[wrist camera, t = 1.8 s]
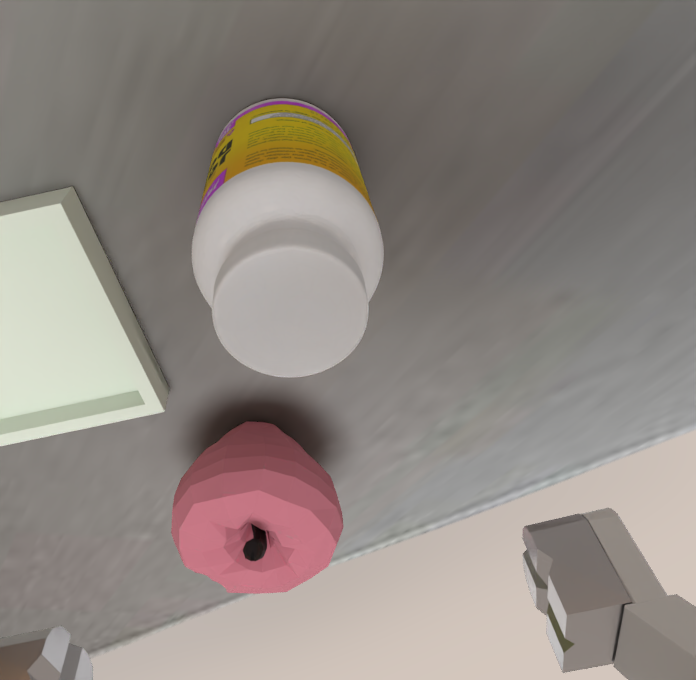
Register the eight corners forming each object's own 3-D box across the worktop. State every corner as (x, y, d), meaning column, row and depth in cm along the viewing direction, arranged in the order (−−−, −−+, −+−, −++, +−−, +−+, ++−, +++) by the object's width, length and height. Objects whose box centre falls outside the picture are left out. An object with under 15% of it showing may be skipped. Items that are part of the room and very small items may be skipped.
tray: (73, 186, 27) (60, 203, 26) (169, 388, 35) (164, 411, 33) (-189, 243, 27) (-218, 263, 26) (-38, 432, 35) (-53, 457, 33)
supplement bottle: (218, 80, 25) (182, 191, 15) (367, 108, 27) (429, 228, 16) (207, 223, 29) (172, 393, 19) (339, 242, 30) (375, 410, 20)
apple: (156, 437, 37) (123, 583, 29) (257, 361, 34) (253, 498, 26) (263, 507, 42) (261, 649, 33) (358, 445, 39) (381, 582, 31)
